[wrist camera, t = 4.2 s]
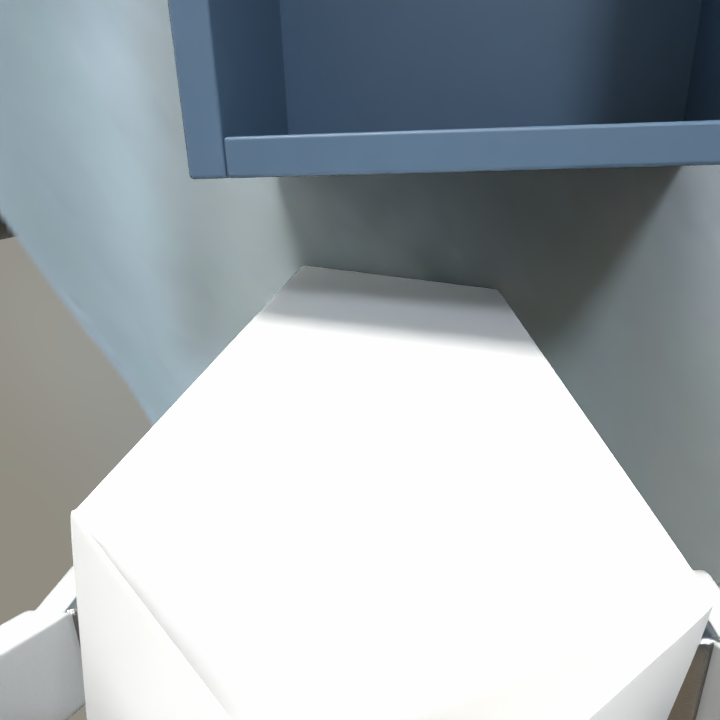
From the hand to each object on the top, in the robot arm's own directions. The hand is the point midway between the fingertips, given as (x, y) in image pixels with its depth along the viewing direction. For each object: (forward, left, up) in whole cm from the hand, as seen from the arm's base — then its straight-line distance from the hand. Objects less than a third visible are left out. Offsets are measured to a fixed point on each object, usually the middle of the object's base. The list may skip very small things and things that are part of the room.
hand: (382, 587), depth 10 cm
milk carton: (0, 0, -12) cm, 12 cm away
